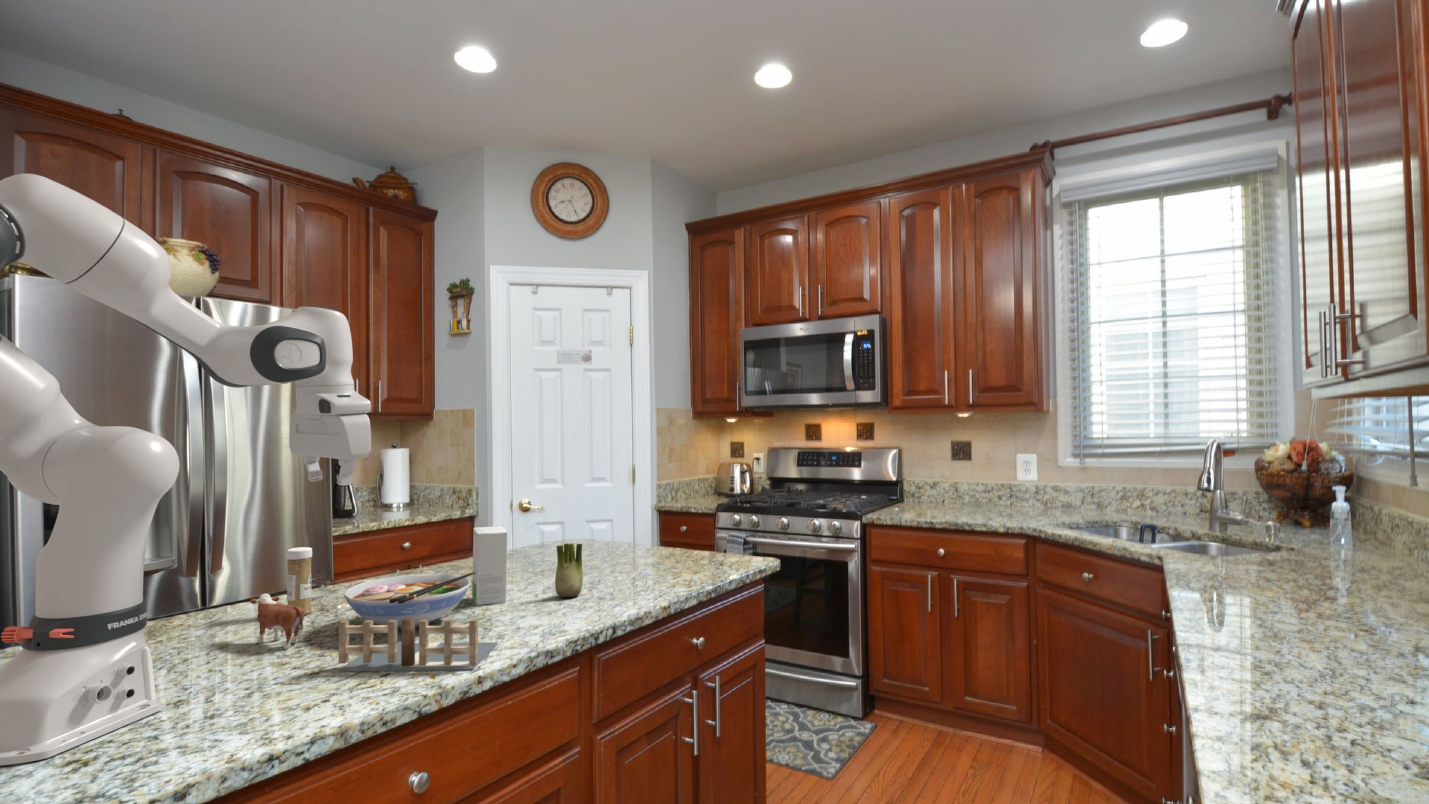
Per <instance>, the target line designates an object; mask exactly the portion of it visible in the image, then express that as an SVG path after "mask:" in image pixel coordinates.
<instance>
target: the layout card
mask: <svg viewBox="0 0 1429 804" xmlns="http://www.w3.org/2000/svg"><path fill="white" fill-rule="evenodd" d="M376 645H388V643H377V644H376ZM497 645H498V642H496V641H495V642H494V641H493V642H491V641H490V642H489V641H488V642H487V641H486V642H485V641H484V642H478V663H477V664H476V665H469V654H453V663H452V664H451V665H444V654H440V655H428V664H426V665H419V642H418V643H417V642H415V664H414V665H412V666H401V643H400V642H399V643H398V642H397V661H396V662H394V663H388V653H373V661H372V662H370V663H363V653H361V654H360V655H359V656H357V657H356V658H354V659H353V660H351V661H350V662H347V664H345V665H344V666H342V667H341V668H339V670H338V672H339V673H340V672H347V673H348V672H349V673H351V672H411V671H412V672H414V671H415V672H418V671H419V672H422V671H424V672H426V671H427V672H429V671H434V672H435V671H437V672H438V671H440V672H441V671H474V669H475V668H477V666H478V665H479V664H480V663H481V662H482V661H483V660H484V659H485V657H486V656H488V655H489V653H491V652H492V650H493V649H494V648H495V647H496V646H497ZM433 646H444V642H428V647H433ZM453 646H469V642H453Z"/></svg>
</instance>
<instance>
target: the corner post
mask: <svg viewBox="0 0 1429 804" xmlns="http://www.w3.org/2000/svg"><path fill="white" fill-rule="evenodd" d="M400 630H401V633H400V635H401V637H400V638H401V639H400V640H401V666H412V665H414V664H415V643H416V628H415V618H405V619H402V620H401V629H400Z"/></svg>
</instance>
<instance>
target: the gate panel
mask: <svg viewBox="0 0 1429 804" xmlns="http://www.w3.org/2000/svg"><path fill="white" fill-rule="evenodd" d="M350 634H363V635H362V637H363V638H362V640H363V641H362V643H363V644H360V645H354V644H353V645H352V644H351V645H350ZM374 634H387V644H388V645H377V644H374ZM397 643H398V629H397V620H390V621H389V622H388V625H379V624H375V625H374V623H373V620H366V619H365V620H364V621H363V624H362V625H350V620H349V619H348V620H347V619H346V620H345V619H342V620H340V621H339V622H338V664H346V663H349V661H350V657H349V656H350V655H351V654H354V655H355V654H363V663H370V662H372V661H373V653H388V663H394V662H396V661H397Z"/></svg>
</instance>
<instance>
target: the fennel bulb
mask: <svg viewBox="0 0 1429 804" xmlns="http://www.w3.org/2000/svg"><path fill="white" fill-rule="evenodd" d="M575 549H576V550H575ZM582 555H583V543H576V548H575V543H564V544H557V545H556V557H557V558H556V559H557V560H556V561H557V567H556V571H555V580H554V588H555V589H554V591H555V592H556V595H557V596H558V597H560V598H564V599H565V598H574V597H577V596H580V594H581V591H582V588H583V580H584V572H583V571H584V570H583V556H582Z"/></svg>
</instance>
